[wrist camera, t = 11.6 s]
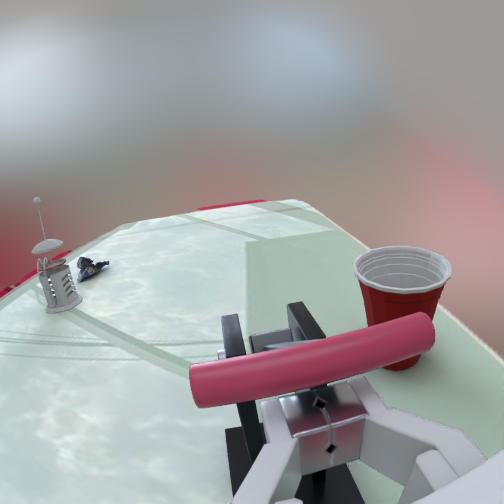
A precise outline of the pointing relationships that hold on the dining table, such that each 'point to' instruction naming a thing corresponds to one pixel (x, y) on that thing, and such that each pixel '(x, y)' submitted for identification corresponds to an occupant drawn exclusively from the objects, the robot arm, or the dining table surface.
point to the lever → (307, 361)
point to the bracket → (252, 432)
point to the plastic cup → (400, 285)
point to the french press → (55, 277)
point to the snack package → (88, 267)
